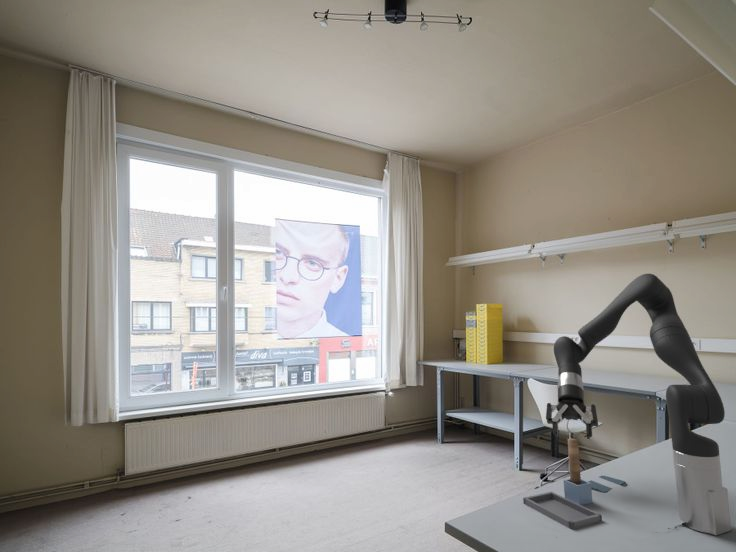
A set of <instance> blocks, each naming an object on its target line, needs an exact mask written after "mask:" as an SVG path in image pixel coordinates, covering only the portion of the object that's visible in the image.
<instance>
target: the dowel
mask: <svg viewBox="0 0 736 552" xmlns="http://www.w3.org/2000/svg"><path fill="white" fill-rule="evenodd" d="M567 449H568V463H569V464H568V467H569V477H570V478H569V479H570V482H572V483H574V484H577V485H580V484H581V479H582V478H581V465H580V451H579V440H578V439H577V438H567Z"/></svg>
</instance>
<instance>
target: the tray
mask: <svg viewBox="0 0 736 552" xmlns="http://www.w3.org/2000/svg"><path fill="white" fill-rule="evenodd" d="M522 501H523V502H522V503H523V504H524V505H525V506H527V507H529V508H531V509H532V510H534V511H537V512H539V513H541V514H542V515H544V516H547V517H548V518H550V519H552V521H553V520H554V521H556V522H557V523H559V524H561V525H563V526H564V527H566V528H568V529H570V530H575V529H578V528H582V527H586V526H589V525H590V526H591V525H594V524H596V523H600V522H603V515H602V514H601V513H598V512H596V511H594V510H592V509H590V508H588V507H585V506H584V505H579V504H577V503H575V502H573V501H571V500H569V499H566V498H565V496H562V495H561V494H558V493H557V492H556V493H555V492H553V491H548V492H544V493H538V494H535V495H529V496H525V497H523V498H522Z"/></svg>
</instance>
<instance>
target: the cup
mask: <svg viewBox="0 0 736 552" xmlns="http://www.w3.org/2000/svg"><path fill="white" fill-rule="evenodd" d="M563 491H564V498H566V499H569V500H571V501H573V502H575V503H577V504H579V505H582V506H584V505H585V506H586V505H588V504H592V503H593V490H592V489H591V483H590V482H588V481H587V480H585V479H582V478H581V484H580V485H577V484H574V483H572V482H570V478H567V479H563Z"/></svg>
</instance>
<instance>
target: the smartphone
mask: <svg viewBox="0 0 736 552" xmlns="http://www.w3.org/2000/svg"><path fill="white" fill-rule="evenodd" d="M598 478H600V479H602V480H605V481H608V482H610V483H612V484H616V485H619V486H621V487H625V486H627V482H626V481H625V480H621V479H619V478H615V477H610V476H606V475H600V476H598ZM587 482H590V483H591V489H592V491H595V492H599V493H603V494H606V493H608V492H610V491H611V490H613V488H612V487H609V486H607V485H604V484H602V483H599V482H597V481H594V480H588V481H587Z"/></svg>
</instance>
